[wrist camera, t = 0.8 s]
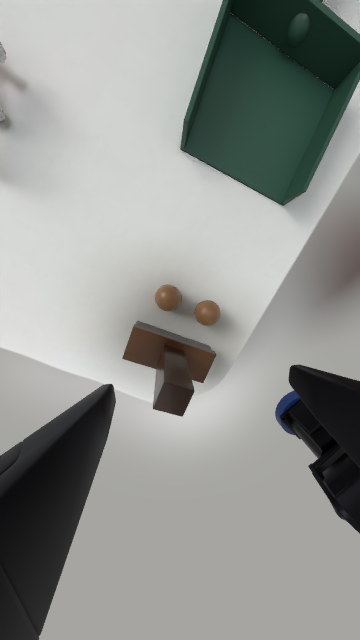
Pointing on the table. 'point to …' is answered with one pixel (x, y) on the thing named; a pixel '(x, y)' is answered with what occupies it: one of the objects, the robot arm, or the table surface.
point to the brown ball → (207, 313)
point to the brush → (170, 364)
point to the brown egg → (168, 297)
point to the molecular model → (1, 57)
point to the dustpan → (272, 93)
